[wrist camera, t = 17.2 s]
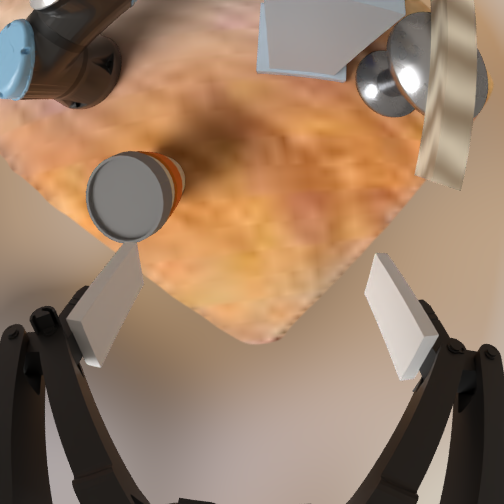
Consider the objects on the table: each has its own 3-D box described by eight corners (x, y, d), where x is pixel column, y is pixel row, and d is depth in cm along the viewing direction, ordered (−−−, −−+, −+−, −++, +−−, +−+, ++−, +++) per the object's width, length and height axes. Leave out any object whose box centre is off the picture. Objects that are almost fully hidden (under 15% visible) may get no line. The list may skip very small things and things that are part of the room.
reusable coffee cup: (119, 190, 51) (73, 212, 37) (152, 132, 46) (108, 135, 33) (171, 228, 53) (138, 262, 39) (209, 171, 49) (184, 188, 35)
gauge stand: (343, 82, 41) (430, 29, 13) (257, 73, 42) (232, -5, 14) (344, 16, 36) (411, -78, 8) (261, 7, 36) (245, -106, 9)
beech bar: (442, 183, 28) (460, 191, 24) (414, 174, 28) (431, 181, 24) (455, -16, 17) (470, -25, 13) (428, -29, 17) (442, -41, 13)
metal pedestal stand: (332, 72, 40) (365, 41, 23) (389, 34, 36) (439, -2, 19) (384, 138, 44) (441, 146, 26) (436, 97, 40) (502, 92, 22)
